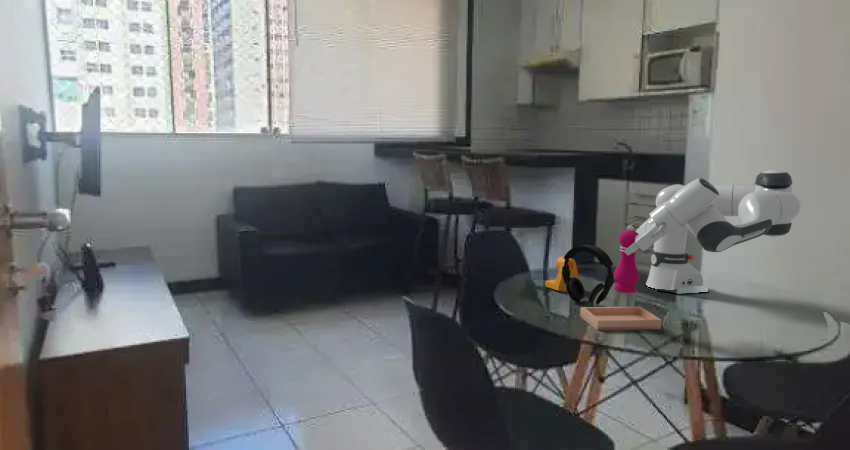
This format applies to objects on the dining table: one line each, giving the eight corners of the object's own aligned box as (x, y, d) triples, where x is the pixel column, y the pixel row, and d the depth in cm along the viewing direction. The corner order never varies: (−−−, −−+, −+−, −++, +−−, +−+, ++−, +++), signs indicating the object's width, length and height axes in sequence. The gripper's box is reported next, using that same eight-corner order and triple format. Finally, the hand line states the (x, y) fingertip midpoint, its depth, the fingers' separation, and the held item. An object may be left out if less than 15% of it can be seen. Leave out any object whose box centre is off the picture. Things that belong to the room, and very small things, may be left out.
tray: (639, 315, 190) (640, 306, 189) (660, 329, 177) (661, 319, 177) (579, 316, 187) (580, 307, 186) (597, 330, 174) (598, 320, 174)
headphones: (614, 308, 197) (619, 249, 194) (602, 312, 192) (608, 252, 188) (568, 295, 210) (572, 240, 206) (555, 299, 204) (559, 242, 201)
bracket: (564, 284, 225) (567, 253, 223) (579, 289, 219) (581, 257, 217) (543, 288, 219) (546, 256, 217) (558, 293, 213) (560, 260, 211)
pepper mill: (637, 288, 182) (643, 224, 178) (637, 294, 175) (644, 228, 172) (612, 286, 184) (618, 222, 181) (612, 292, 177) (617, 226, 174)
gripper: (673, 235, 163) (632, 266, 168) (670, 224, 182) (633, 252, 187) (657, 218, 164) (617, 249, 168) (655, 209, 183) (619, 237, 187)
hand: (626, 251), depth 178 cm, fingers closed on pepper mill, 5 cm apart
